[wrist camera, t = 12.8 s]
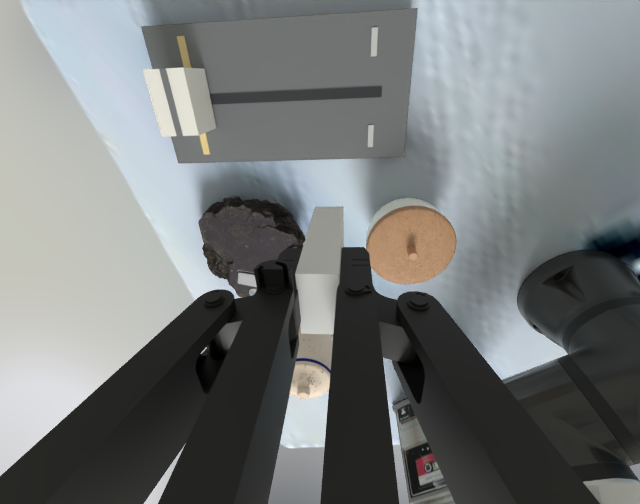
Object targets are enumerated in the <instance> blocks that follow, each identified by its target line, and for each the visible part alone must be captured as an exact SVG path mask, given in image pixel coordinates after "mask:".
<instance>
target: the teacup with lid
mask: <svg viewBox="0 0 640 504" xmlns="http://www.w3.org/2000/svg"><path fill="white" fill-rule="evenodd" d="M298 334H299V348H298V353H297V358H296V363H295V368H294V373H293V378H292V383H291V388H290V394H291V395H293V396H296V397H299V398H301V399H307V398H316V397H320V396H322V395H324V394H325V393H327V392H328V391H329V386H330V372H331V359H332V346H333V337H332V335H331V334H301V327H300V328H299V333H298Z"/></svg>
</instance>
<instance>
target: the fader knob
mask: <svg viewBox="0 0 640 504" xmlns="http://www.w3.org/2000/svg"><path fill="white" fill-rule="evenodd" d="M143 73H144V76H145V80H146V83H147V87H148V90H149V94H150V97H151V101H152V104H153V108H154V111H155V115H156V118H157V121H158V125H159V128H160V132H161V135H162V137H167V136H196V135H201V134H203V133H206V132H208V131H211V130H213V129H216V124H215V119H214V114H213V109H212V104H211V99H210V94H209V89H208V84H207V79H206V74H205V69H201V68H184V67H183V68H163V69H146V70H143Z"/></svg>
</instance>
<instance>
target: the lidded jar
mask: <svg viewBox="0 0 640 504" xmlns="http://www.w3.org/2000/svg"><path fill="white" fill-rule="evenodd" d="M455 249H456V235H455V232H454V229H453V227H452V225H451V224H450V222H449V221H448V220H447V219H446V218H445V217H444V216H443V215H442V214H441V213H440V212H439V210H437V209H436V208H435V207H433V206H432V205H431V204H429V203H427V202H425V201H423V200H419V199H415V198H402V199H397V200H393V201H391V202H389V203H387V204H386V205H384V206H383V207H381V208H380V209H379V210H378V211H377V212H376V213H375V214H374V216H373V218H372V219H371V222H370V224H369V226H368V230H367V237H366V250H367V251H368V252H369V256H370V265H371V267H372V269H373V270H374V271H375V272H376V273H377V274H378V275H379V276H381V277H382V278H384V279H386V280H388V281H390V282H394V283H398V284H416V283H420V282H424V281H426V280H429V279H431V278H433V277H435V276H436V275H437V274H439V273H440V272H441V271H443V270H444V269H445V268H446V266H447V265H448V264H449V263H450V261H451V259H452V258H453V255H454V253H455Z"/></svg>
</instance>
